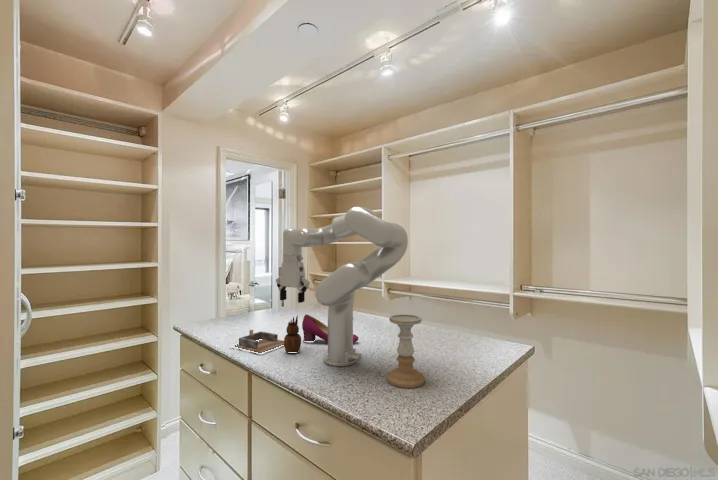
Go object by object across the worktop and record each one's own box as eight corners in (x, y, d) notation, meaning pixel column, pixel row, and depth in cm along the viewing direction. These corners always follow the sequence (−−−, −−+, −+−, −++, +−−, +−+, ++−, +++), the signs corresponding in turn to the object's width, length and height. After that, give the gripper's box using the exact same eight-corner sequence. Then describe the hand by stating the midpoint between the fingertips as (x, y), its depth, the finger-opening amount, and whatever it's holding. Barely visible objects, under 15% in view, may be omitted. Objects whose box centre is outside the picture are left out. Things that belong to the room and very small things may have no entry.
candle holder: (378, 380, 105) (378, 317, 105) (402, 369, 114) (402, 312, 114) (409, 392, 96) (409, 324, 96) (432, 380, 105) (432, 317, 105)
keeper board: (288, 344, 142) (288, 330, 142) (260, 355, 128) (260, 339, 128) (258, 338, 152) (258, 325, 152) (229, 347, 138) (229, 333, 138)
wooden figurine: (302, 350, 134) (302, 314, 135) (298, 355, 129) (298, 317, 129) (286, 349, 135) (286, 313, 135) (282, 354, 129) (282, 317, 129)
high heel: (358, 346, 140) (357, 317, 140) (299, 345, 141) (299, 317, 141) (359, 340, 148) (358, 313, 148) (303, 339, 150) (303, 313, 150)
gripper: (314, 259, 131) (314, 301, 131) (283, 258, 140) (282, 297, 140) (302, 260, 125) (302, 304, 125) (270, 258, 133) (269, 300, 133)
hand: (292, 301), depth 132 cm, fingers open, 9 cm apart
